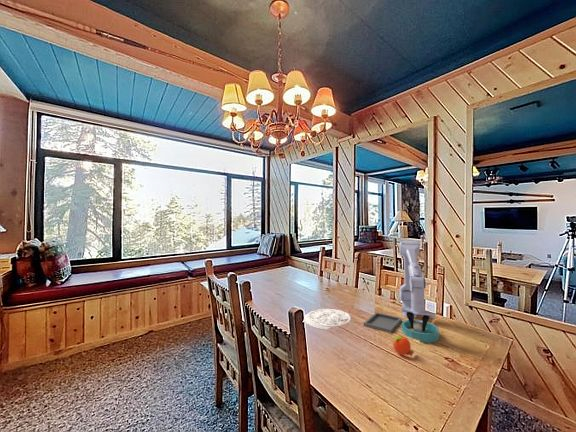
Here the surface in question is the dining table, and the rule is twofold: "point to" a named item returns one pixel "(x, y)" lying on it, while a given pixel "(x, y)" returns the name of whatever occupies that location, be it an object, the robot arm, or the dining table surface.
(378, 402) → the dining table surface
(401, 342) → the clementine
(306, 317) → the ceiling medallion
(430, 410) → the dining table surface
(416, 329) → the stone
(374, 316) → the tray
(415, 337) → the bowl
